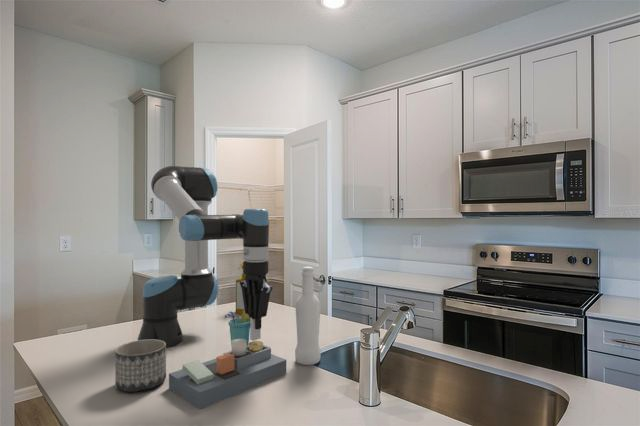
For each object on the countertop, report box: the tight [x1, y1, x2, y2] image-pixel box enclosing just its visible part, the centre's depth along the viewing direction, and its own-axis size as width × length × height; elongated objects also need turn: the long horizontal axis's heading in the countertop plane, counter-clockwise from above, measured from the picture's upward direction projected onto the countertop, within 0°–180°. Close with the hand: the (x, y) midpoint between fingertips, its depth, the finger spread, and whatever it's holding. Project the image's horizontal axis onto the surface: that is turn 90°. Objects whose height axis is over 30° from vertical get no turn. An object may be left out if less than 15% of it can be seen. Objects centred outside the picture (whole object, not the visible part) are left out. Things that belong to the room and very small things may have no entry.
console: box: [168, 344, 287, 410], centre depth 108 cm, size 16×28×7 cm, turn 137°
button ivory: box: [231, 339, 247, 356], centre depth 110 cm, size 4×4×4 cm
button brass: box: [248, 340, 264, 353], centre depth 115 cm, size 4×4×4 cm
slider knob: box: [215, 353, 234, 375], centre depth 104 cm, size 2×4×4 cm, turn 137°
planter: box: [114, 339, 167, 392], centre depth 106 cm, size 13×13×10 cm
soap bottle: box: [235, 262, 246, 315], centre depth 179 cm, size 7×13×24 cm, turn 170°
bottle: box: [294, 266, 322, 366], centre depth 122 cm, size 8×8×30 cm
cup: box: [224, 310, 250, 348], centre depth 129 cm, size 14×8×15 cm, turn 156°
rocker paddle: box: [181, 359, 214, 384], centre depth 101 cm, size 8×4×1 cm, turn 47°
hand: (255, 339), depth 115 cm, fingers closed
